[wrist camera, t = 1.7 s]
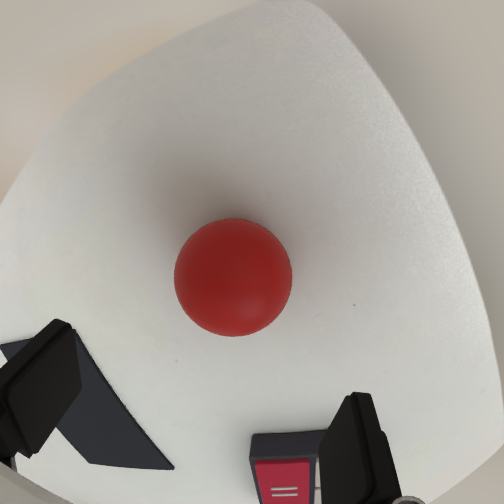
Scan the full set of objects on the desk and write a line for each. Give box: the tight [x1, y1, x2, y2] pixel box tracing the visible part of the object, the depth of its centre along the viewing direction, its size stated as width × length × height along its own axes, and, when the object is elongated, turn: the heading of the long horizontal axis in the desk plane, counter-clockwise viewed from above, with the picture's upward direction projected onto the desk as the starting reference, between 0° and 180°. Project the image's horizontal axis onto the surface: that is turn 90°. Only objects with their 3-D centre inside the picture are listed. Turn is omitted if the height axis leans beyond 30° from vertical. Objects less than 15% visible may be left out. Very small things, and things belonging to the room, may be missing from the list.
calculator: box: [249, 430, 327, 504], centre depth 26 cm, size 11×4×15 cm
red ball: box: [174, 219, 292, 337], centre depth 18 cm, size 6×6×6 cm
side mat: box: [0, 329, 175, 470], centre depth 28 cm, size 20×14×1 cm
